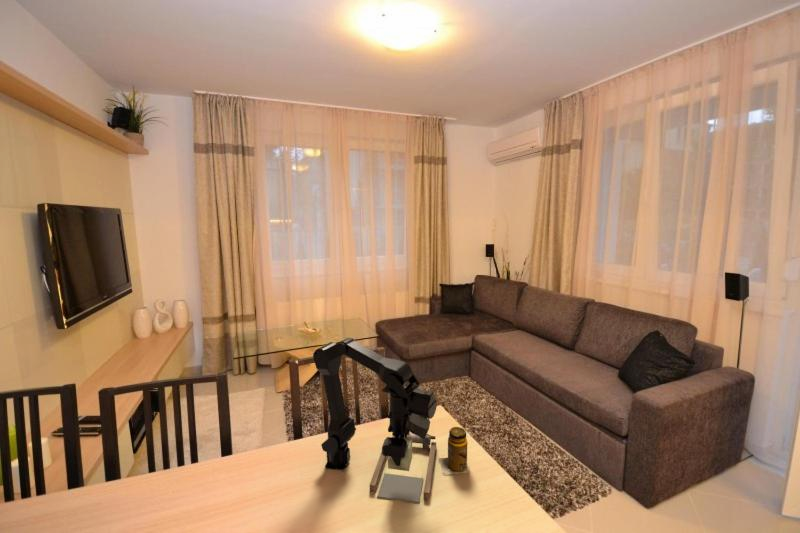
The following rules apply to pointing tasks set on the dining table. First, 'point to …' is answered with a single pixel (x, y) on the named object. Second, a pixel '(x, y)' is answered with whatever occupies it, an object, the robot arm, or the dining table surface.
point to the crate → (404, 461)
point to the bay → (429, 474)
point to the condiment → (456, 453)
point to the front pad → (401, 488)
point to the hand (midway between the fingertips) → (400, 457)
